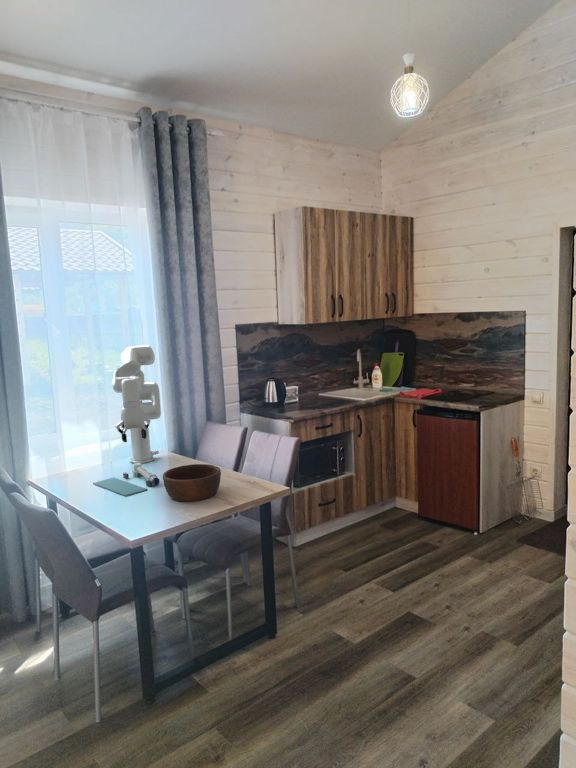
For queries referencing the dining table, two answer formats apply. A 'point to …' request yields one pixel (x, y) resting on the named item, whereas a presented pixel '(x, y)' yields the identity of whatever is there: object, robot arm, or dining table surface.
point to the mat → (120, 486)
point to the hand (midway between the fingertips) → (134, 440)
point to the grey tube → (145, 474)
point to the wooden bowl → (192, 482)
